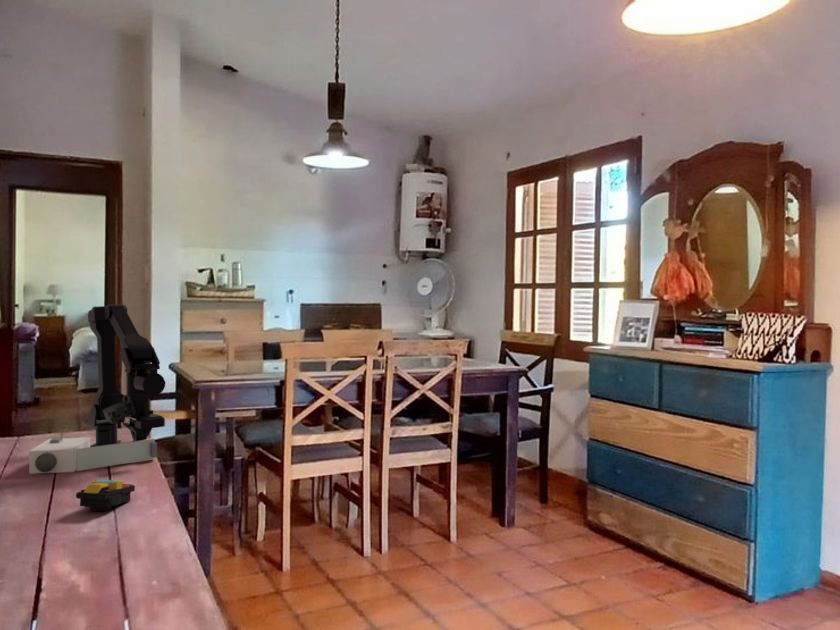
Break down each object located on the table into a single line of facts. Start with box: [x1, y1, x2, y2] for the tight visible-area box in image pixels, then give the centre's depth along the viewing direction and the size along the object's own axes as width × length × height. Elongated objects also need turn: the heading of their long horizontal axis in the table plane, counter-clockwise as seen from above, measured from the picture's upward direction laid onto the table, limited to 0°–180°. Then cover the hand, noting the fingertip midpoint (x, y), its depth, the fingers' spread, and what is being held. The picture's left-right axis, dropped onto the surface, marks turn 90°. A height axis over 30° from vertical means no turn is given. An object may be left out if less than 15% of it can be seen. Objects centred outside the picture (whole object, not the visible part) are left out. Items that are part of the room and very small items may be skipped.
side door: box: [75, 438, 158, 472], centre depth 179 cm, size 19×3×5 cm, turn 132°
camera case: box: [28, 437, 91, 475], centre depth 178 cm, size 15×10×6 cm, turn 10°
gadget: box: [75, 478, 136, 512], centre depth 146 cm, size 6×13×6 cm, turn 172°
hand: (138, 450), depth 185 cm, fingers closed
